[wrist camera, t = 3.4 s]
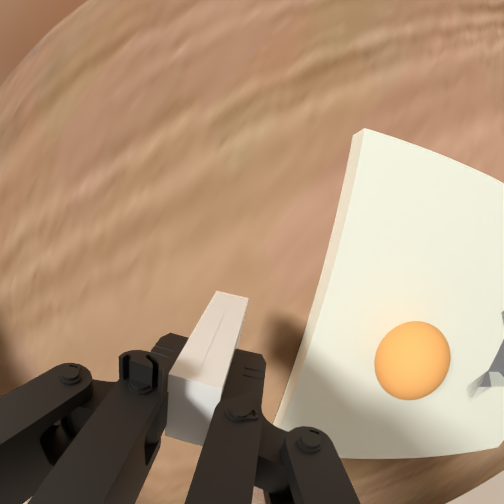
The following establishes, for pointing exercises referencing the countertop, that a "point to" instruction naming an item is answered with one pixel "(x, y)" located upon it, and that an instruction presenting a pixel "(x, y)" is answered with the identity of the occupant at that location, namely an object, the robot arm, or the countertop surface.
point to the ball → (412, 360)
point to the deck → (405, 306)
